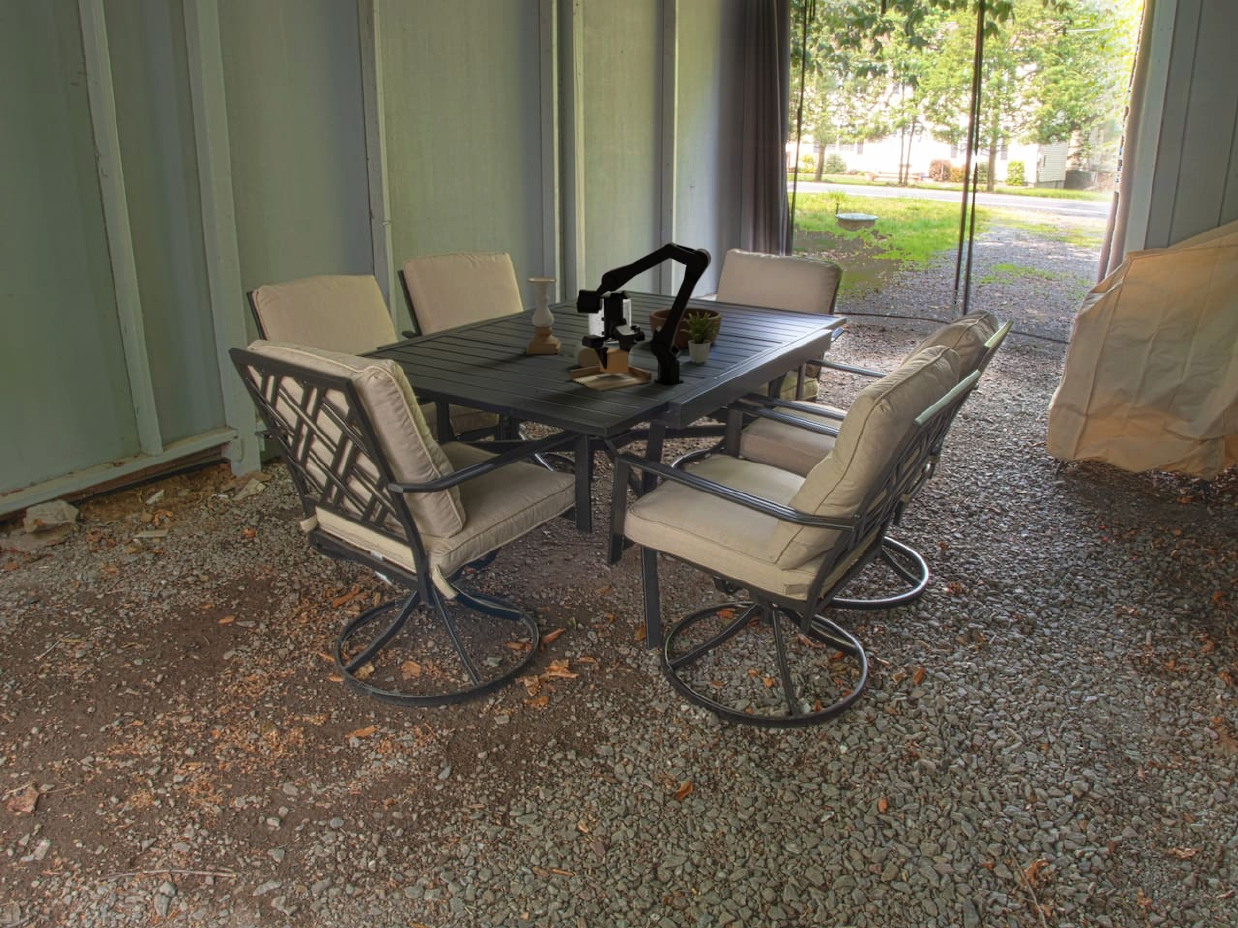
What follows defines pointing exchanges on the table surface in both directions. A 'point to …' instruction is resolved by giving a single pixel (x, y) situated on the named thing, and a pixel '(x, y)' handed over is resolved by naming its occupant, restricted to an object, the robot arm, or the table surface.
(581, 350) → the ceramic mug
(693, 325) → the house plant
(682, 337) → the wooden bowl
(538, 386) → the table surface
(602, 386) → the arena
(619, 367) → the cube
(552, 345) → the candle holder
